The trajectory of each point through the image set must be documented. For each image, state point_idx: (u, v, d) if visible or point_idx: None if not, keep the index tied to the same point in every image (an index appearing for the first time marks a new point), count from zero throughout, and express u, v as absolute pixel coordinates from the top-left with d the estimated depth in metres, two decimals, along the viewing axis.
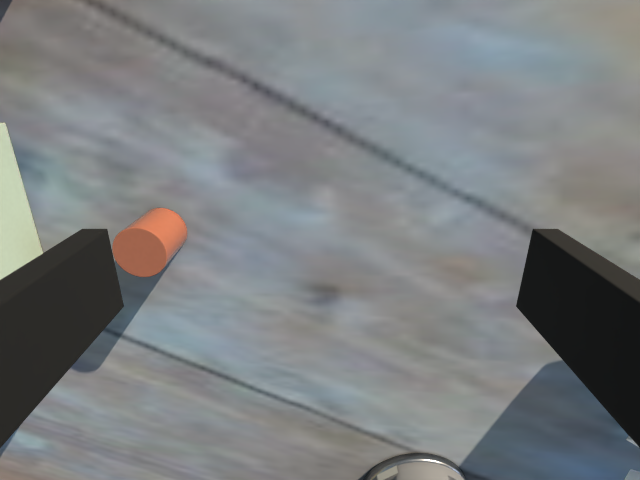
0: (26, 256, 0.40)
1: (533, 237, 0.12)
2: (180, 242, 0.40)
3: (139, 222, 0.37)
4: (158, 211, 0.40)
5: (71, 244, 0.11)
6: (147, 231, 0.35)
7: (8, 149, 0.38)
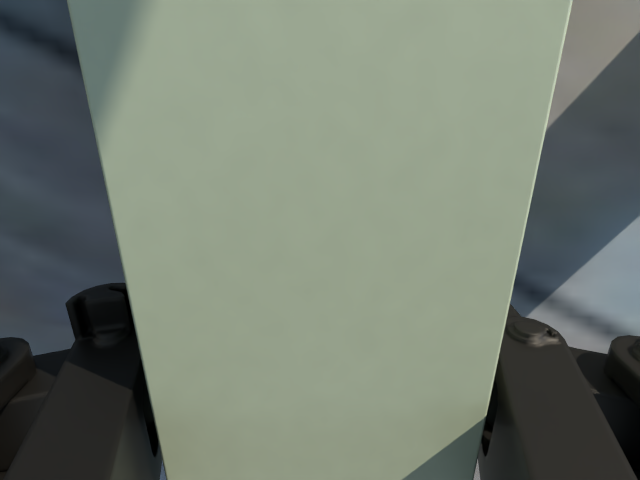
0: None
1: None
2: None
3: None
4: None
5: None
6: None
7: None
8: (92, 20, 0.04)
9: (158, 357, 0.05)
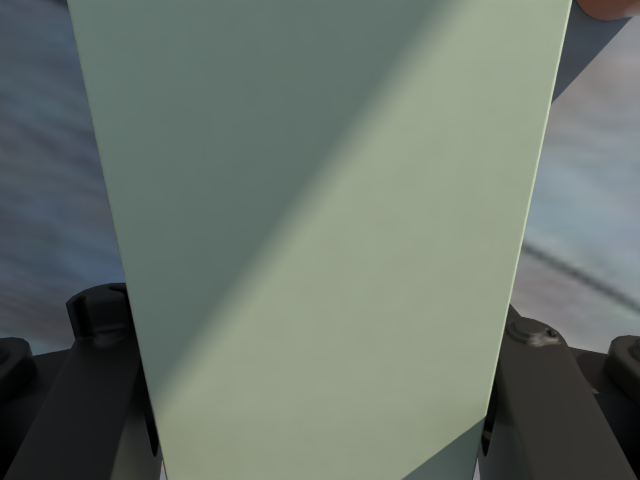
0: None
1: None
2: None
3: None
4: None
5: None
6: None
7: None
8: (92, 18, 0.04)
9: (158, 356, 0.05)
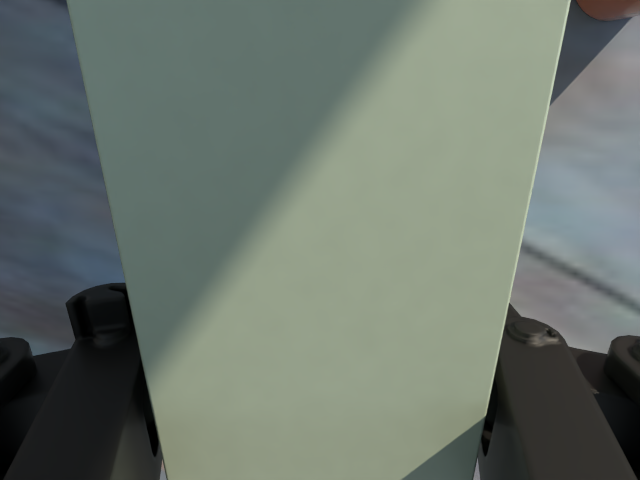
0: None
1: None
2: None
3: None
4: None
5: None
6: None
7: None
8: (91, 18, 0.04)
9: (158, 356, 0.05)
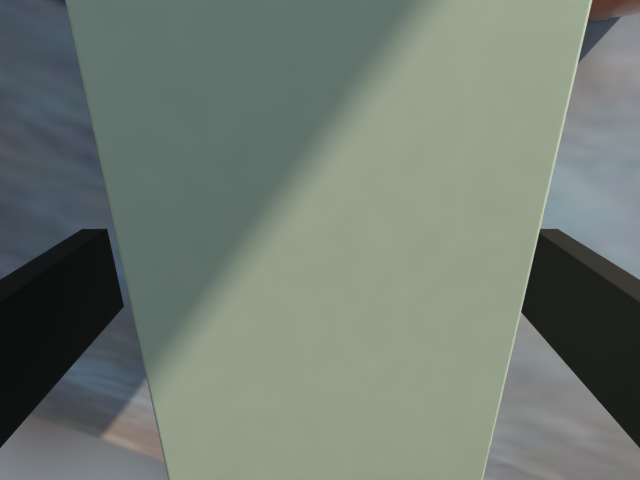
0: None
1: None
2: None
3: None
4: None
5: (71, 243, 0.11)
6: None
7: None
8: None
9: (158, 349, 0.05)
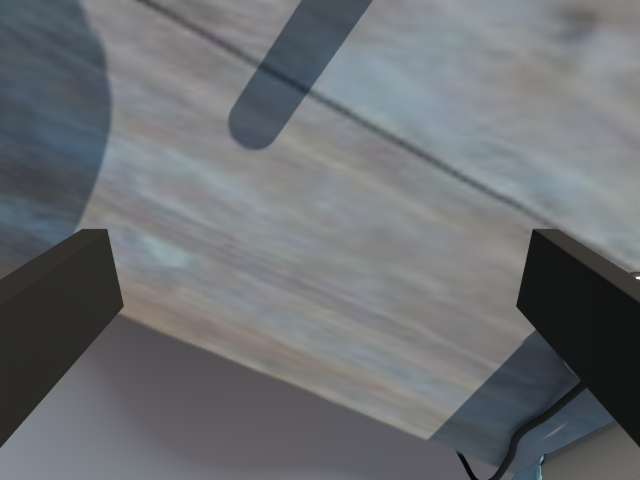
0: None
1: (533, 237, 0.12)
2: None
3: None
4: None
5: (71, 244, 0.11)
6: None
7: None
8: None
9: None
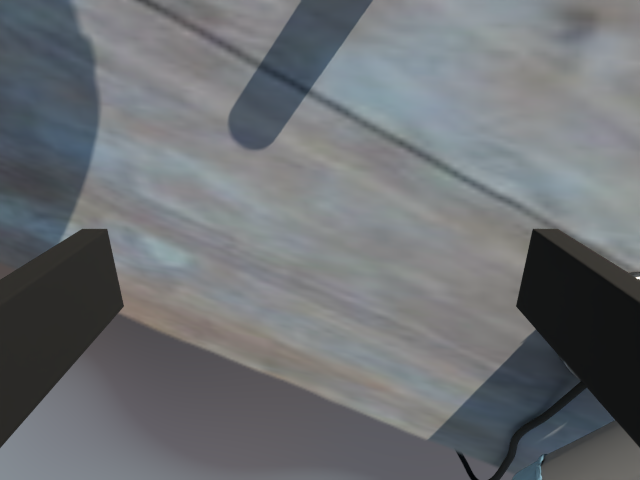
0: None
1: (533, 237, 0.12)
2: None
3: None
4: None
5: (72, 244, 0.11)
6: None
7: None
8: None
9: None
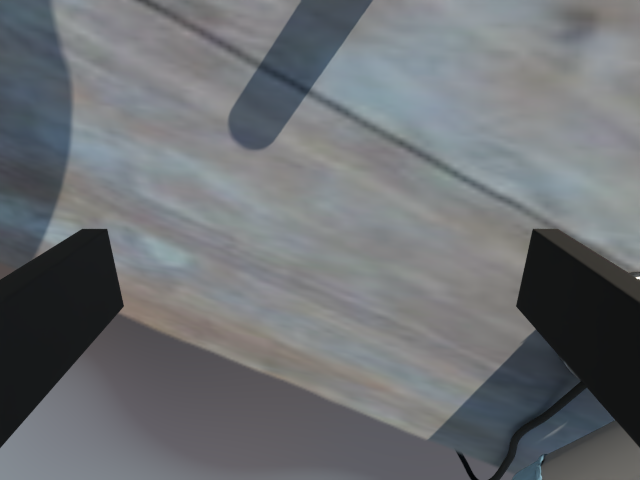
0: None
1: (533, 237, 0.12)
2: None
3: None
4: None
5: (72, 244, 0.11)
6: None
7: None
8: None
9: None
